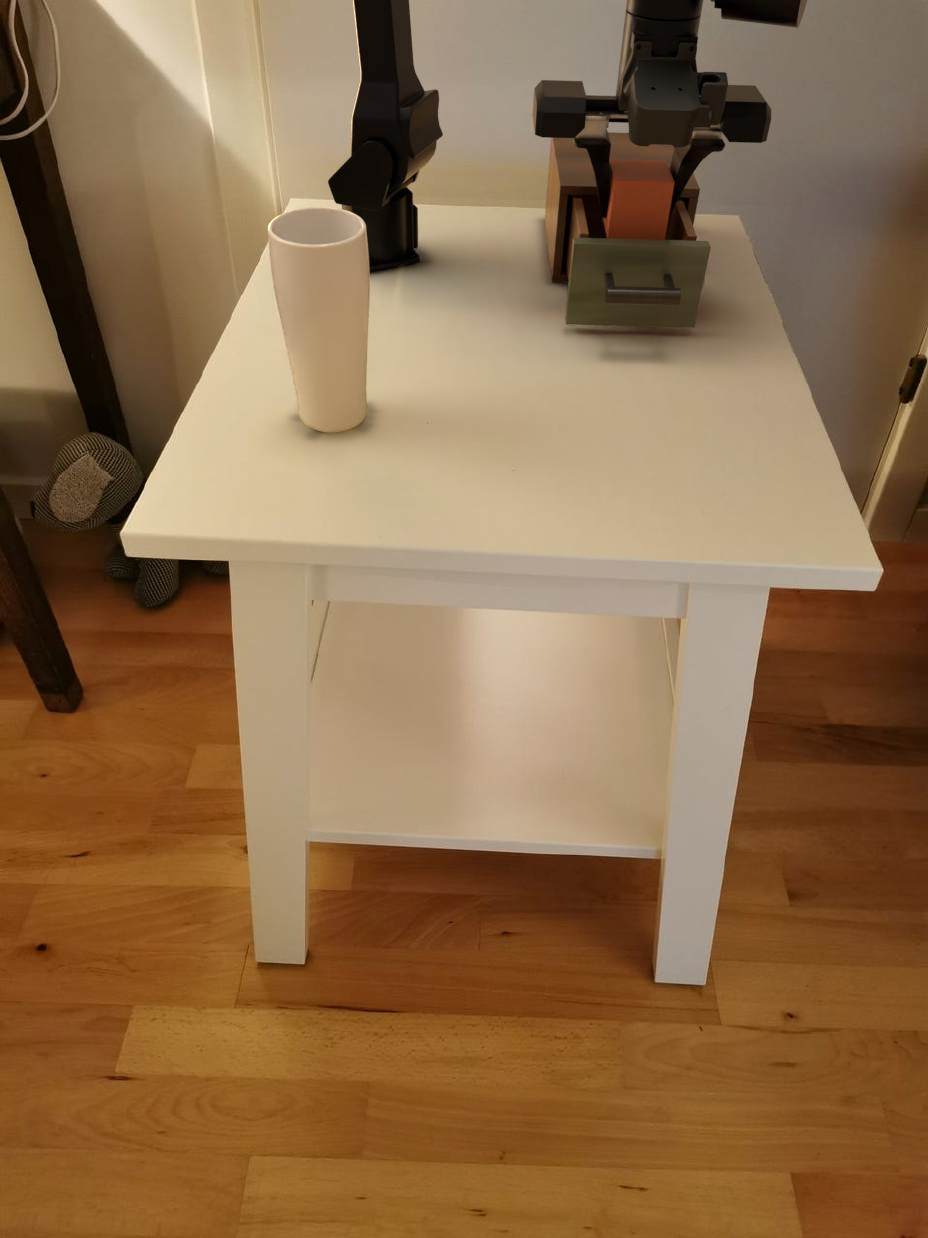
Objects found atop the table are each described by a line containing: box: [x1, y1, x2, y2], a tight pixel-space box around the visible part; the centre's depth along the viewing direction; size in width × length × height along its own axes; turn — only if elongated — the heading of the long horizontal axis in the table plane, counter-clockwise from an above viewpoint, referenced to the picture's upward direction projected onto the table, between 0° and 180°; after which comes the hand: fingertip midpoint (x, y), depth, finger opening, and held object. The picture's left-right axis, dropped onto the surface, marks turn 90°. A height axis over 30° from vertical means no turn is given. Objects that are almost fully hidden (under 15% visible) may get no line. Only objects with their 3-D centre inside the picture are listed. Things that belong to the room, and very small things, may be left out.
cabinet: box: [544, 131, 701, 284], centre depth 96 cm, size 15×13×9 cm
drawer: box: [564, 195, 712, 328], centre depth 86 cm, size 18×11×7 cm, turn 179°
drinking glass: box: [267, 206, 371, 433], centre depth 71 cm, size 7×7×15 cm
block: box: [603, 159, 674, 240], centre depth 84 cm, size 5×5×5 cm
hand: (634, 216), depth 85 cm, fingers closed on block, 5 cm apart
